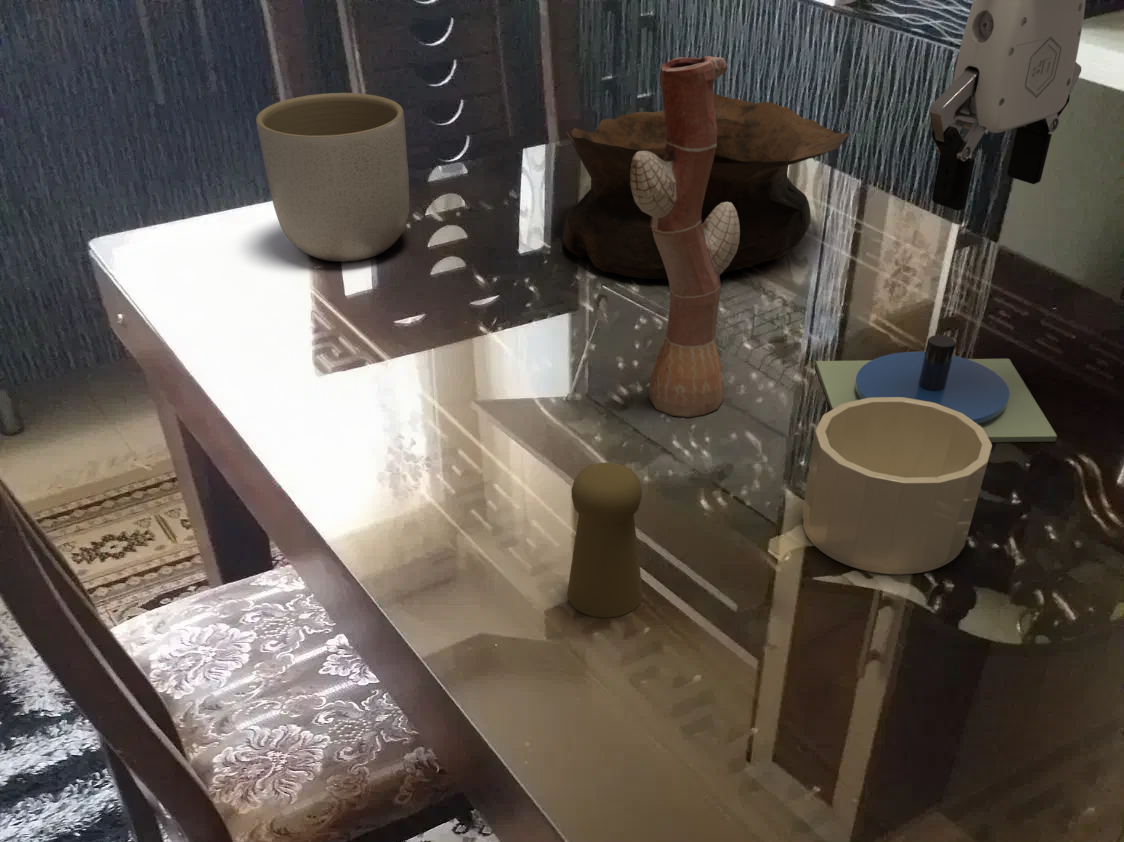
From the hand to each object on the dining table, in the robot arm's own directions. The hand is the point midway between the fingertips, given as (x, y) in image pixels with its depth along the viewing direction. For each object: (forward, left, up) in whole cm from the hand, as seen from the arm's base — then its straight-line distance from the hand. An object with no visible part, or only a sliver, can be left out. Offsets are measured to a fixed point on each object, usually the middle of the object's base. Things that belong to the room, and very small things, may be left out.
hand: (986, 192), depth 100 cm
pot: (+10, +22, -20) cm, 31 cm away
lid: (+1, 0, -18) cm, 18 cm away
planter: (+64, -42, -20) cm, 79 cm away
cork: (+34, +31, -20) cm, 50 cm away
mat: (+1, 0, -20) cm, 20 cm away
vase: (+26, -1, -20) cm, 33 cm away
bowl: (+21, -43, -20) cm, 52 cm away
